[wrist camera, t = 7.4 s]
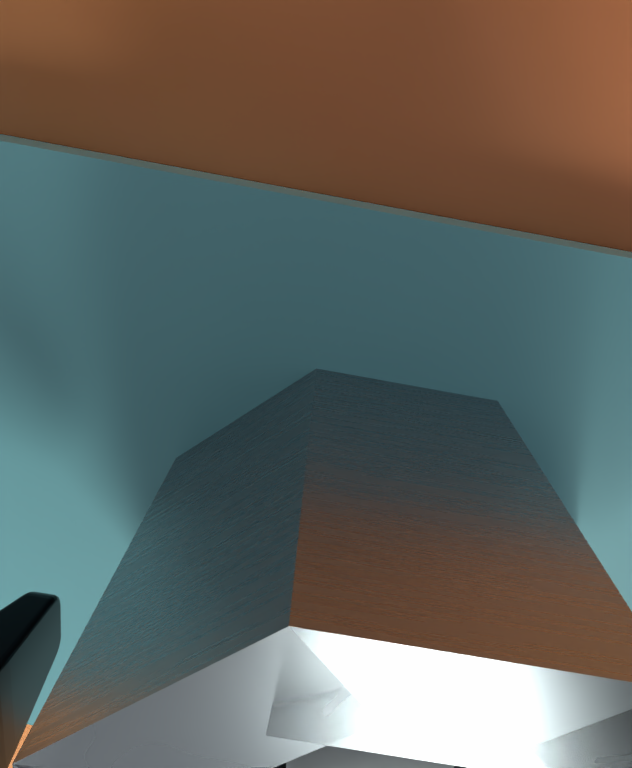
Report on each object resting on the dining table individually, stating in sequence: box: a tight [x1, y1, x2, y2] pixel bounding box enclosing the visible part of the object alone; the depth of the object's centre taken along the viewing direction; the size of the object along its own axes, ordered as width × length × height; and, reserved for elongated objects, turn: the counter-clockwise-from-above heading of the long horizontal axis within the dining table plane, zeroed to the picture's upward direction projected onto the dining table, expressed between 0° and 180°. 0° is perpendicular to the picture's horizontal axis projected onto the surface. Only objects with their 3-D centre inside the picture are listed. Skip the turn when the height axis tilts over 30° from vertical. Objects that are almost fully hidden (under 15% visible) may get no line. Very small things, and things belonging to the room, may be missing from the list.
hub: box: [13, 368, 632, 768], centre depth 8 cm, size 7×7×5 cm
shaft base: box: [0, 134, 632, 768], centre depth 9 cm, size 12×20×5 cm, turn 80°
